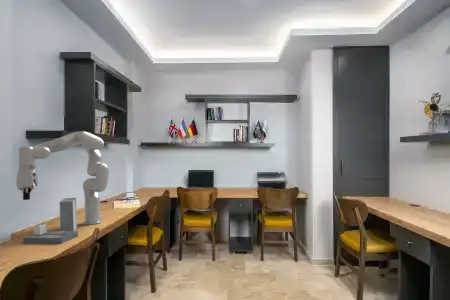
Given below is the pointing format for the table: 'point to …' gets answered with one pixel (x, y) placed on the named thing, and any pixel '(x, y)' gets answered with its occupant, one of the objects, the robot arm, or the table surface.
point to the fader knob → (40, 229)
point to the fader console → (51, 237)
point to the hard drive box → (68, 214)
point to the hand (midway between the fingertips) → (26, 199)
